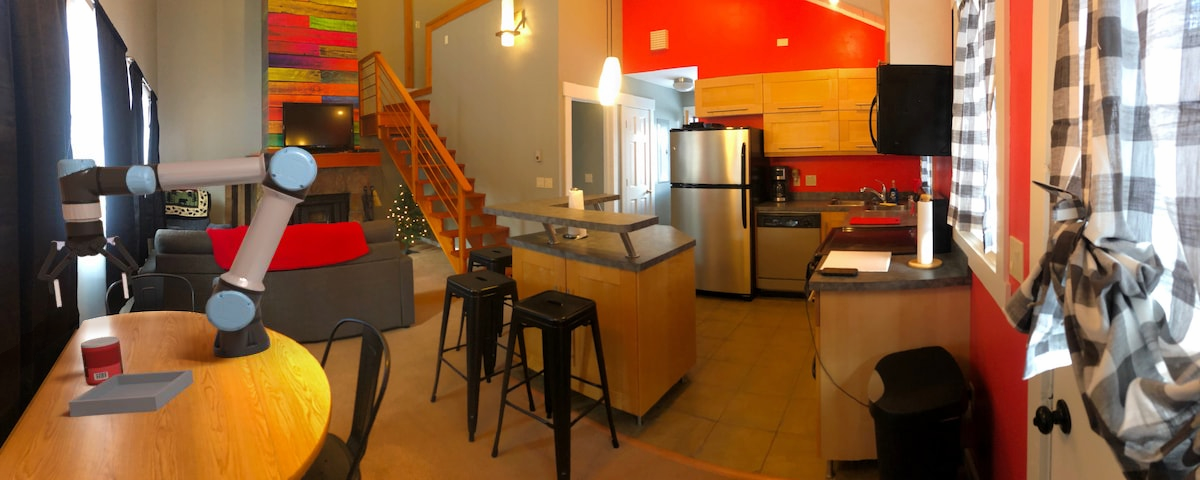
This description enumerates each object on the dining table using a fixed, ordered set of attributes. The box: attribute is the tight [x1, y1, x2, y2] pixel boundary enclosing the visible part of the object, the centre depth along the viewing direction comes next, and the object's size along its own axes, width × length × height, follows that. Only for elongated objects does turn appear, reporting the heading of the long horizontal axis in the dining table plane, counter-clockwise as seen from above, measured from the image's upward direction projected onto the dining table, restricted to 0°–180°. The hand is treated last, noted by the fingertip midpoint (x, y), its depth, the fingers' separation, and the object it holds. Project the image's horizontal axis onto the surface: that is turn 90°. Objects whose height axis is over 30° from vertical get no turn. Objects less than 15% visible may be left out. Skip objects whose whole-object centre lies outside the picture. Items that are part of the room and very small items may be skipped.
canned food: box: [80, 336, 125, 387], centre depth 165 cm, size 8×8×11 cm
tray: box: [68, 369, 194, 418], centre depth 153 cm, size 18×18×4 cm
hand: (93, 301), depth 163 cm, fingers open, 13 cm apart
